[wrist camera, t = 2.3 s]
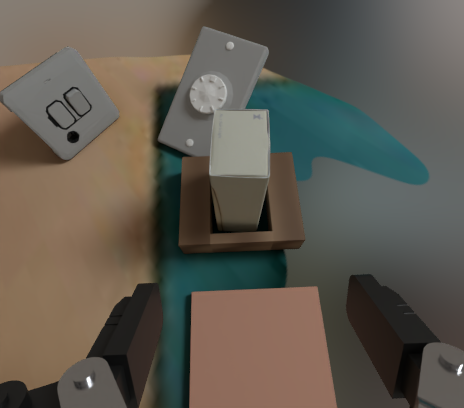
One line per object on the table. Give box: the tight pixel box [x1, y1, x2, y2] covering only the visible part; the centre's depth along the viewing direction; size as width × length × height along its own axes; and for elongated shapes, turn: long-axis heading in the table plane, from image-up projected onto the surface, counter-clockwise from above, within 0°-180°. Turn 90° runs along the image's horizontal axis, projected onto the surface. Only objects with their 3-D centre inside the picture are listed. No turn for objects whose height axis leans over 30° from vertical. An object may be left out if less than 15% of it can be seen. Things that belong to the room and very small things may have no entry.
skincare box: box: [209, 109, 270, 232], centre depth 26 cm, size 6×4×12 cm
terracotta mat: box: [189, 287, 337, 408], centre depth 25 cm, size 12×12×1 cm
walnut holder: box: [179, 152, 305, 254], centre depth 30 cm, size 12×10×3 cm
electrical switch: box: [0, 47, 119, 160], centre depth 33 cm, size 9×5×9 cm, turn 143°
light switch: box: [158, 27, 269, 157], centre depth 35 cm, size 8×6×14 cm
